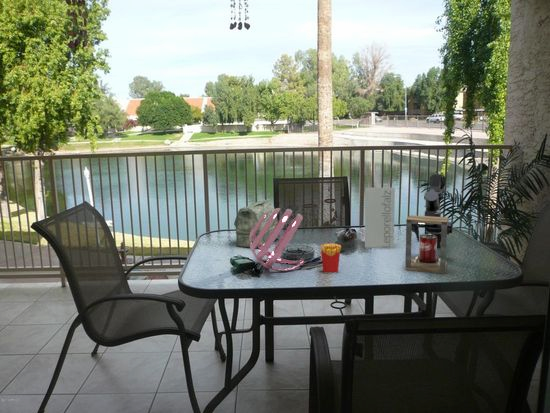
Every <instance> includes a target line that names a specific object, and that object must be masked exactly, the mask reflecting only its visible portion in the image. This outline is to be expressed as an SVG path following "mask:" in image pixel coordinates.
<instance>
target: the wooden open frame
mask: <svg viewBox="0 0 550 413" xmlns="http://www.w3.org/2000/svg"><path fill="white" fill-rule="evenodd" d="M405 221H406V225H405V228H406V229H405V231H406V232H405V263H404V265H405V269H404V270H405V271H411V272H421V273H422V272H423V273H431V274H432V273H433V274H441V275H442V274H443V275H446V271H447V266H448V260H447V243H448V242H447V239H448V237H447V236H448V235H447V223H448V222H449V217H448V216H441V217H433V216H425V215H413V214H410V215H408V217H407V218H406V220H405ZM412 223H428V224H442V230H441V243H440V245H441V247H440V257H436V263H435V264H429V263H421V262H420V261H419V255H417V256H415V257H412V238H413V237H412V236H413V232H412Z"/></svg>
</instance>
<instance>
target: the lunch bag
mask: <svg viewBox="0 0 550 413" xmlns="http://www.w3.org/2000/svg"><path fill="white" fill-rule="evenodd" d="M275 209H276V208H275V207H274V205H273V203H272V202H271V201H269V200H268V199H262V200H261V199H259V200H258V201H256V202H254V203H252V204H250V205H248V206H244V207H241V208H240V209H238V212H237V213H236V214H237V215H236V216H235V219H234V223H233V226H235V236H236V241H235V242H236V243H235V244H236V246H238V247H242V248H250V239H249V236H250V231H251V229H252V228H253V227H254V228H255V226H256V224H257V223H258V221H259V220H260V218H261V217H262V215H263V214H264V213H265V212H267V211H269V212H268V214H267V216H266V217H265V219H264V220H263V222H262V223H261V225H260V226H259V228H258V230H257V231H256V233H255V236H256V237H257V236H258V234H259V233H260V231H261V230H262V228H263V227H264V225H265V224H266V222H267V221H268V219H269V217H270V216H271V214H272V213H273V211H274V210H275ZM278 219H279V218H278V215H277V216H276V217H275V219H274V220H273V222H272V224H271V225H270V227H269V228H268V230H267V231H266V233H265V234H264V236H263V237H262V239H261V241H260V244H261V245H263V244H264V243H265V241H266V240H267V238H268V237H269V235H270V233H271V232H272V230H273V229H274V227H275V226H276V224H277V223H278V221H279V220H278ZM279 237H280V234H279V235H278V236H277V238H276V239H275V240H277V239H279ZM253 242H254V239H253V237H252V244H253ZM255 249H259V248H258V247H256V248H255Z"/></svg>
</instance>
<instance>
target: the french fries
mask: <svg viewBox="0 0 550 413" xmlns="http://www.w3.org/2000/svg"><path fill="white" fill-rule="evenodd" d="M320 247H321V251H320V256H321V263H322V271H323V273H326V272H331V273H332V274H333V273H335V272H336V273H338V272H339V268H340V266H339V263H340V257H341V256H340V254H341V248H342V246H341V244H337V243H329V244H328V243H324V244H323V245H320ZM331 273H330V274H331Z"/></svg>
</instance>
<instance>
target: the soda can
mask: <svg viewBox="0 0 550 413" xmlns="http://www.w3.org/2000/svg"><path fill="white" fill-rule="evenodd" d="M418 245H419V248H418V249H419V251H418V253H419V254H418V256H419V261H420V262H421V263H429V264H435V263H436V258H438V257H437V255H438V254H437V251H438V248H437V237H436V236H435V235H431V234H425V233H423V234H421V235H419V244H418Z"/></svg>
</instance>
